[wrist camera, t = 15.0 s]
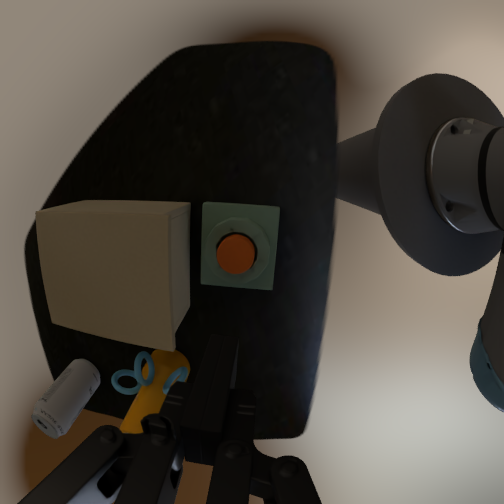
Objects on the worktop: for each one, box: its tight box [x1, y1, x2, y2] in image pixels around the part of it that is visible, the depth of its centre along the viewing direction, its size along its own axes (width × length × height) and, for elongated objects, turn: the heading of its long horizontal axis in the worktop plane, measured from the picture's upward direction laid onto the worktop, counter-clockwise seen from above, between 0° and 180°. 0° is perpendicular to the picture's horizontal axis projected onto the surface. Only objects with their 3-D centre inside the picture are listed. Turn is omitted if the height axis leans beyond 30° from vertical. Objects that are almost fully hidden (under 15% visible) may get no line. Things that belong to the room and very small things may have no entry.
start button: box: [217, 234, 255, 274], centre depth 28 cm, size 4×4×2 cm
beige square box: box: [41, 200, 191, 332], centre depth 28 cm, size 15×13×9 cm
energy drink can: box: [32, 359, 100, 439], centre depth 32 cm, size 6×6×15 cm
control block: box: [201, 202, 280, 290], centre depth 30 cm, size 8×9×4 cm
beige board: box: [36, 211, 176, 352], centre depth 23 cm, size 15×13×1 cm
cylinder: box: [112, 349, 190, 434], centre depth 29 cm, size 12×10×15 cm
